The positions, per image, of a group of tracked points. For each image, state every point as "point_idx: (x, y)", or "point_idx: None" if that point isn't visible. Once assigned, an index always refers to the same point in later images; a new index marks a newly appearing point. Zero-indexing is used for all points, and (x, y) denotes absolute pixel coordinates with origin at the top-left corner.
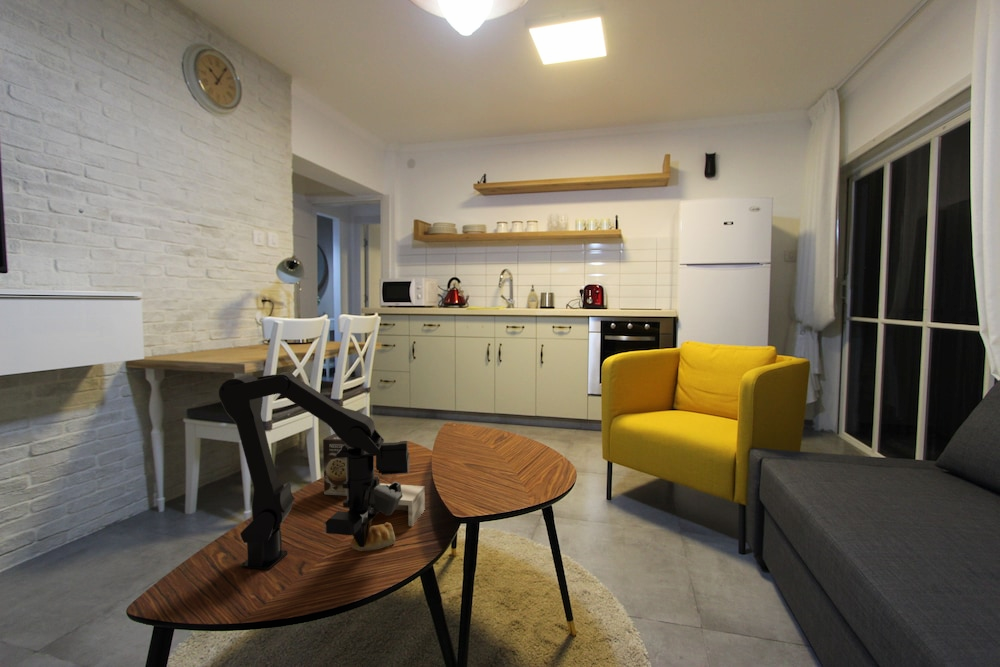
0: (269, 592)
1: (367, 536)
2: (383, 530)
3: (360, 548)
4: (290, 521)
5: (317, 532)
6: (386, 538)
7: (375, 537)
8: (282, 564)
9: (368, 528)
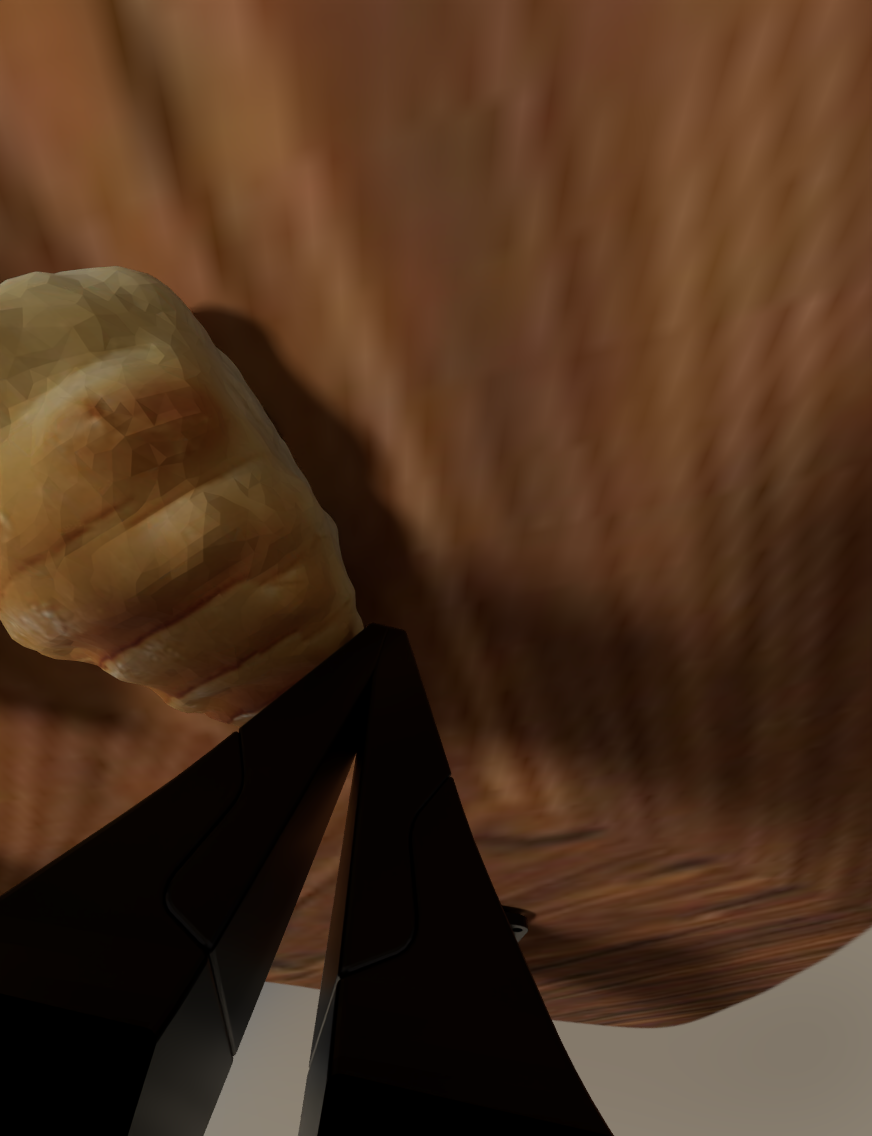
0: (708, 889)
1: (324, 668)
2: (69, 477)
3: None
4: None
5: None
6: (202, 396)
7: (253, 556)
8: None
9: (276, 779)
